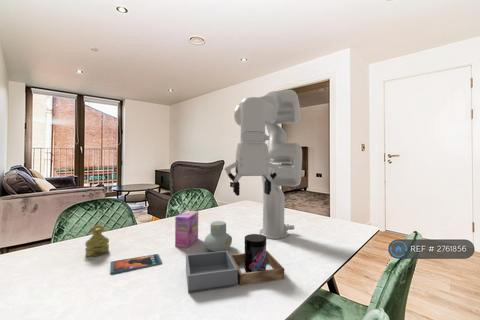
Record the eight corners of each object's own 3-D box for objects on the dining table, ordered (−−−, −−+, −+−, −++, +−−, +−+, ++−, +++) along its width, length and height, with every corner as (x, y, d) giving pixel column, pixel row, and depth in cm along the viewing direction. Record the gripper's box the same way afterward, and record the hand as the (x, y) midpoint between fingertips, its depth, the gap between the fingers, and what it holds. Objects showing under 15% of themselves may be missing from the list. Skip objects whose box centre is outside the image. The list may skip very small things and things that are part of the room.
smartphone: (162, 262, 77) (110, 272, 70) (162, 267, 77) (110, 276, 70) (158, 252, 84) (110, 260, 77) (158, 256, 84) (110, 264, 77)
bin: (227, 264, 77) (227, 250, 77) (237, 285, 65) (237, 269, 64) (185, 269, 74) (185, 254, 74) (188, 293, 61) (188, 275, 61)
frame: (267, 259, 81) (267, 250, 81) (284, 278, 68) (284, 268, 68) (229, 263, 77) (229, 254, 77) (240, 285, 65) (240, 274, 65)
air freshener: (222, 256, 83) (222, 228, 83) (201, 253, 86) (201, 225, 86) (233, 245, 93) (233, 220, 93) (214, 242, 96) (215, 218, 96)
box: (188, 248, 91) (188, 217, 90) (174, 246, 92) (174, 216, 91) (198, 238, 101) (198, 211, 100) (186, 237, 102) (186, 210, 102)
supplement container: (243, 276, 70) (243, 241, 70) (244, 265, 76) (245, 233, 76) (266, 277, 69) (266, 242, 69) (265, 266, 76) (266, 234, 76)
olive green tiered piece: (113, 250, 88) (113, 223, 88) (95, 258, 81) (95, 229, 81) (99, 247, 90) (98, 221, 90) (80, 255, 83) (79, 227, 83)
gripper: (274, 140, 78) (273, 191, 79) (222, 139, 74) (222, 193, 74) (283, 138, 71) (283, 195, 71) (227, 137, 67) (226, 197, 67)
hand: (252, 194), depth 73 cm, fingers open, 9 cm apart
